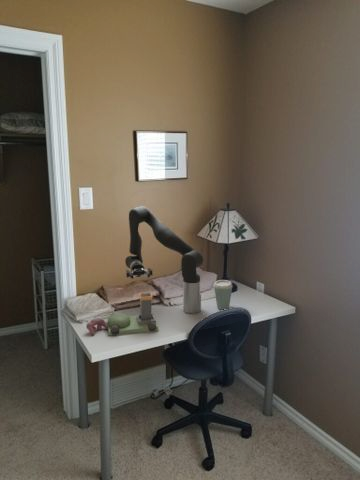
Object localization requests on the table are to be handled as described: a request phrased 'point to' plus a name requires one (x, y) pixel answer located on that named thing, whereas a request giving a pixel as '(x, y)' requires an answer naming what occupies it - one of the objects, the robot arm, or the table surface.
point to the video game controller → (98, 322)
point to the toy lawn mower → (130, 324)
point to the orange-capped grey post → (145, 306)
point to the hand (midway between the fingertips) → (140, 276)
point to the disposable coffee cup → (223, 293)
